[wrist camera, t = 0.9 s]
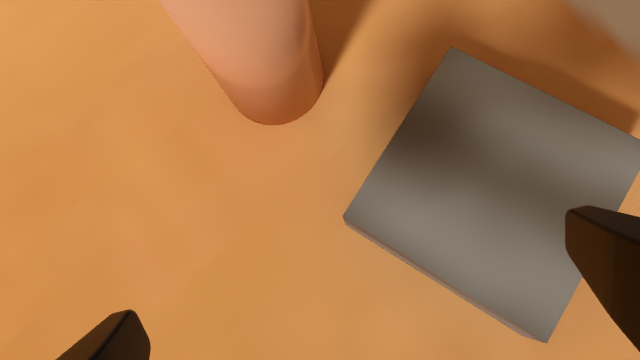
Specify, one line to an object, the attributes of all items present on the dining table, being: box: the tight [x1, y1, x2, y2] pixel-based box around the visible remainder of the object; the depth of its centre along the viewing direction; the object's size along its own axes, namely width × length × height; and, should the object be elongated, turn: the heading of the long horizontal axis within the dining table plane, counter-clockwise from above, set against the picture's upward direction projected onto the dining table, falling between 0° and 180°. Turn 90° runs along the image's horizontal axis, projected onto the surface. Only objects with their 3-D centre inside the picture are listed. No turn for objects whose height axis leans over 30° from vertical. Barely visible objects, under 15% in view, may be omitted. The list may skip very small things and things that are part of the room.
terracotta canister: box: [158, 0, 323, 125], centre depth 20 cm, size 6×6×13 cm
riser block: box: [343, 46, 640, 343], centre depth 22 cm, size 10×10×3 cm
